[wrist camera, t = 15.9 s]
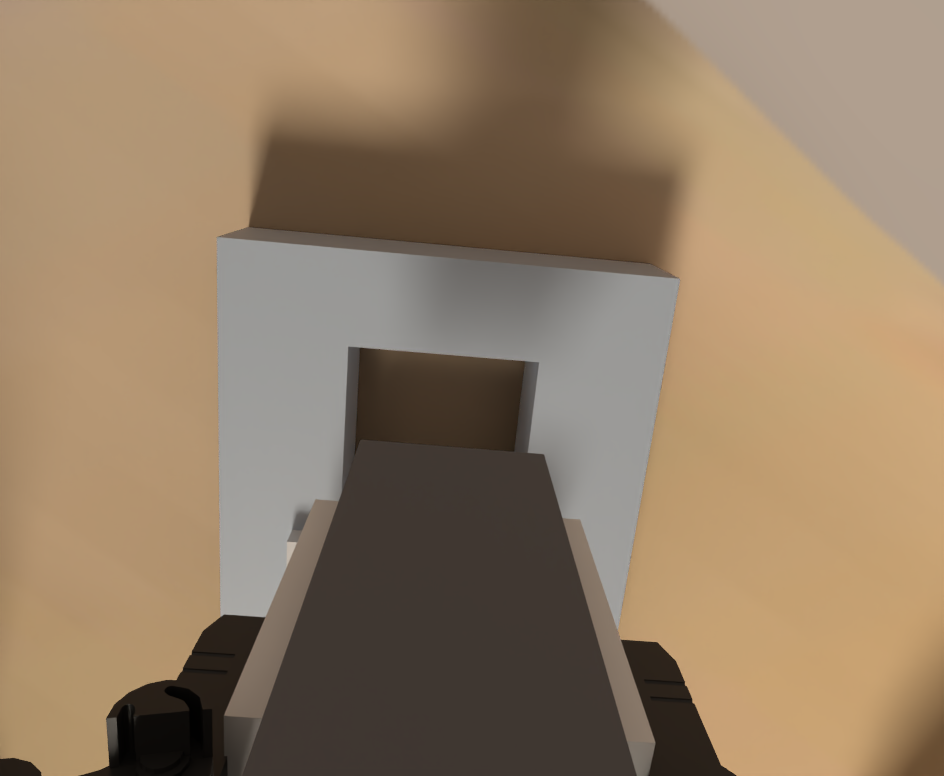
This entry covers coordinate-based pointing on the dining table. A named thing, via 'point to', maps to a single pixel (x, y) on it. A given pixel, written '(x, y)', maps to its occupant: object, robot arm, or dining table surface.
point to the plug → (443, 631)
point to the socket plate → (427, 331)
